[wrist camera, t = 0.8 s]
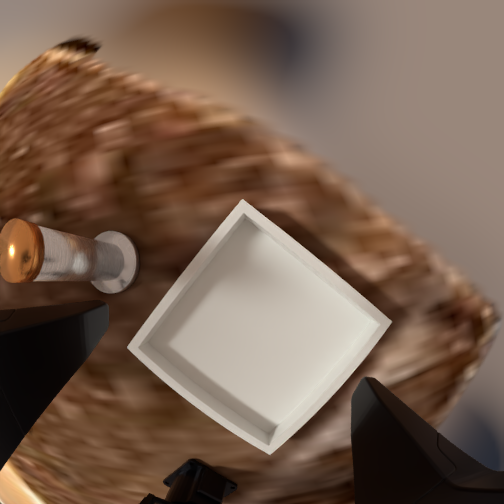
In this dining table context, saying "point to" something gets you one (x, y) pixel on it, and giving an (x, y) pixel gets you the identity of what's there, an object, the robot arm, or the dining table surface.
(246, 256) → the pin tray
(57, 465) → the dining table surface
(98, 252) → the pin
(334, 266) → the dining table surface
